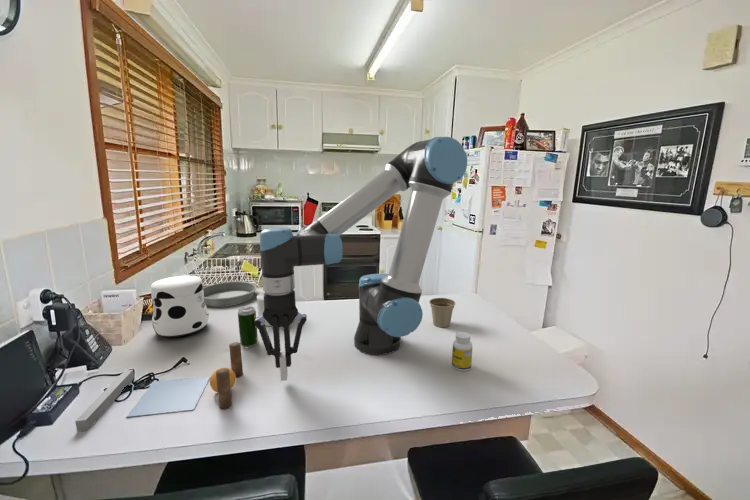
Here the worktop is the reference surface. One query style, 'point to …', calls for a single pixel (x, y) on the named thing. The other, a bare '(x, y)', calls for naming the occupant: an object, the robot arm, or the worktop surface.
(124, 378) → the wall
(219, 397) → the post
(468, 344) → the supplement bottle
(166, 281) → the milk container
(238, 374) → the post
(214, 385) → the ball
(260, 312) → the toilet tissue
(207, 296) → the cake pan
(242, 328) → the beer can
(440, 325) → the flower pot
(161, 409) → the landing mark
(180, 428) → the worktop surface
